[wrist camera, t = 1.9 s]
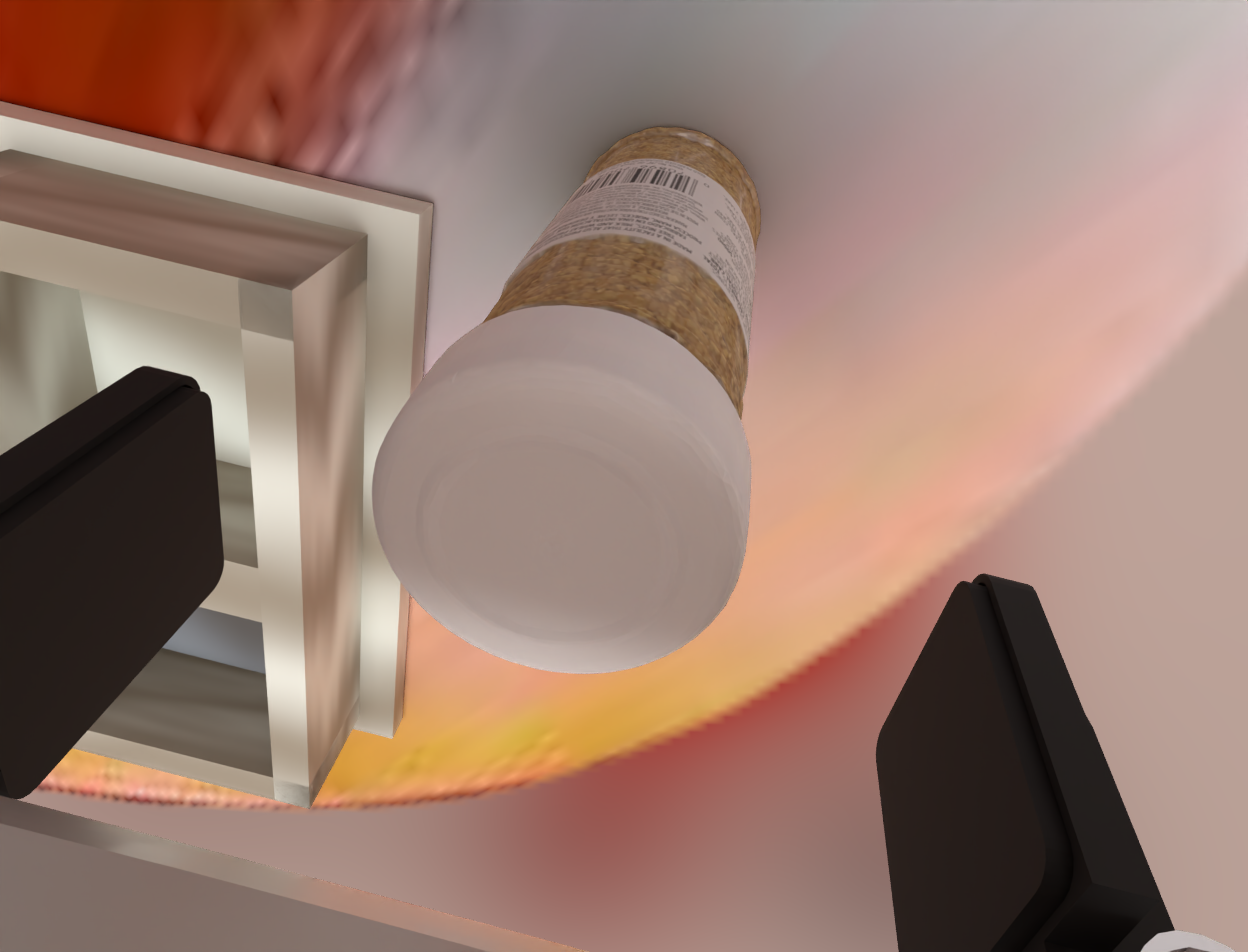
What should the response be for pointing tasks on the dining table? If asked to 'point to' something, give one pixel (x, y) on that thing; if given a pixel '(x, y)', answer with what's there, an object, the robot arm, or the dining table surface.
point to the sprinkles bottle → (591, 425)
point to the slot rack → (231, 420)
